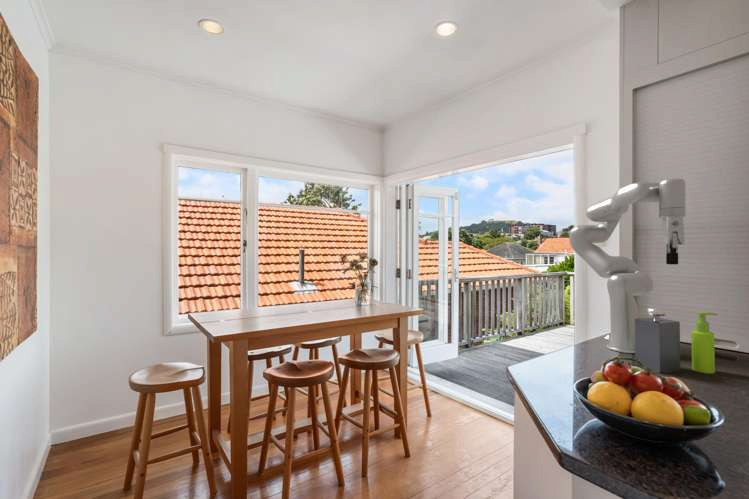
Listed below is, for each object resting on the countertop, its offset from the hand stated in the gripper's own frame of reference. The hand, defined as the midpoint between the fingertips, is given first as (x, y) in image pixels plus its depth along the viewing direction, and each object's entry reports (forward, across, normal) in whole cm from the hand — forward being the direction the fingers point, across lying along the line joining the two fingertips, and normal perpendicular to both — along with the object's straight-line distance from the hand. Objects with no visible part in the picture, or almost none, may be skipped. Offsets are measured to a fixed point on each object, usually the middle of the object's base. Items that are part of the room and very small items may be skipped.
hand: (672, 264), depth 136 cm
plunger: (+35, -8, +6) cm, 36 cm away
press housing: (+36, -8, +6) cm, 38 cm away
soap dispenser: (+36, -5, -8) cm, 37 cm away
